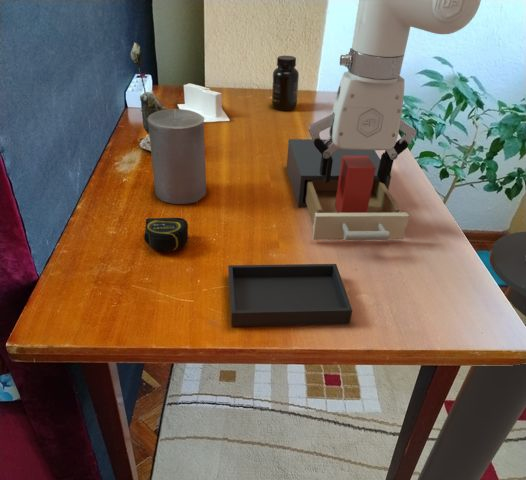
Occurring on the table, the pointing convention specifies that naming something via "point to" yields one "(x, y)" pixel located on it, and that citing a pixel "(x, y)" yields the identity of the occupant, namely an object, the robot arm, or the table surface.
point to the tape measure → (166, 233)
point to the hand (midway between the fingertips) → (353, 179)
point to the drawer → (353, 214)
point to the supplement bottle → (285, 84)
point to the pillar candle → (178, 155)
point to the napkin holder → (203, 103)
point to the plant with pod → (145, 99)
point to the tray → (287, 295)
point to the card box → (354, 184)
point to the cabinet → (318, 165)
